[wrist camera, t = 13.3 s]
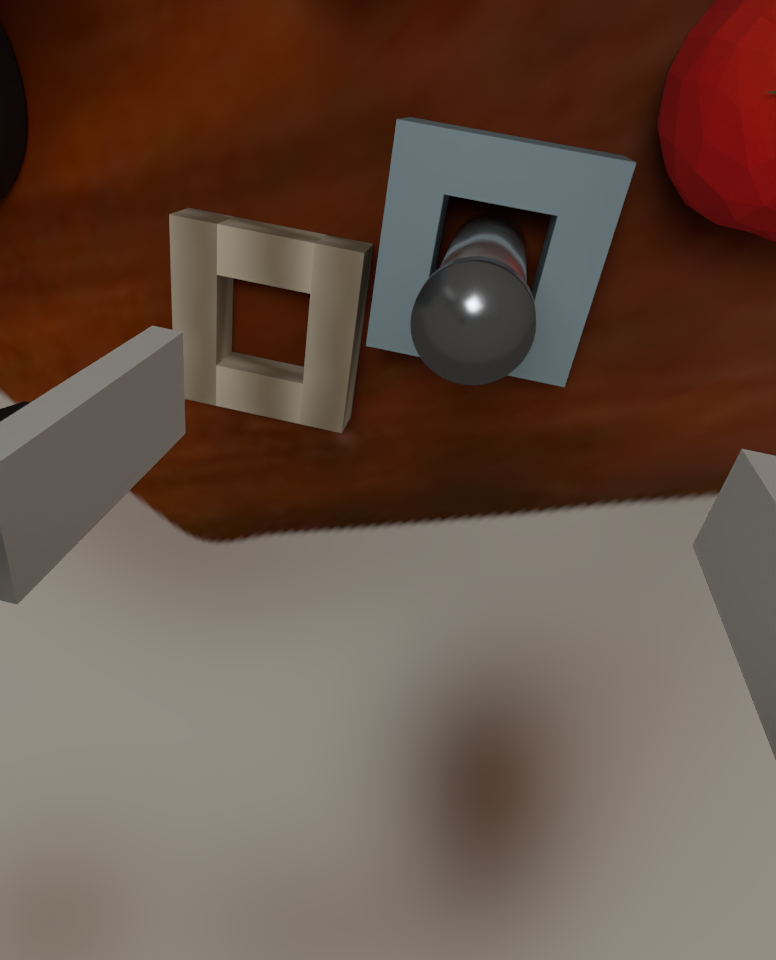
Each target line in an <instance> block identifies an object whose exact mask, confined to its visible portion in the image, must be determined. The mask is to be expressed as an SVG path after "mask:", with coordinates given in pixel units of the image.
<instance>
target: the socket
mask: <svg viewBox="0 0 776 960" xmlns="http://www.w3.org/2000/svg"><path fill="white" fill-rule="evenodd" d="M635 166H636V162H634V161H633V160H631V159H629V158H627V157H626V156H622V155H617V154H611V153H606V152H600V151H595V150H589V149H583V148H578V147H572V146H567V145H561V144H556V143H550V142H545V141H539V140H534V139H528V138H523V137H517V136H511V135H506V134H500V133H495V132H489V131H484V130H478V129H473V128H467V127H462V126H456V125H451V124H445V123H439V122H434V121H428V120H423V119H417V118H412V117H407V118H401V119H397V121H396V129H395V136H394V143H393V151H392V158H391V165H390V173H389V180H388V187H387V195H386V202H385V209H384V217H383V224H382V231H381V239H380V246H379V253H378V261H377V268H376V275H375V283H374V290H373V297H372V305H371V312H370V319H369V327H368V334H367V341H366V346H369V347H374V348H379V349H384V350H388V351H393V352H398V353H403V354H408V355H412V356H417V357H420V356H419V354H418V353H417V351H416V349H415V346H414V343H413V340H412V336H411V326H410V321H411V313H412V309H413V306H414V303H415V300H416V298H417V296H418V294H419V292H420V290H421V289H422V287H423V285H424V284H425V282H426V281H427V279H428V278H429V277H430V276H431V275H432V274H433V273H434V272H435V271H436V267H437V261H438V256H439V250H440V245H441V240H442V234H443V229H444V223H445V218H446V212H447V207H448V202H449V196H455V197H460V198H465V199H471V200H476V201H481V202H487V203H492V204H497V205H503V206H508V207H513V208H518V209H524V210H529V211H534V212H540V213H545V214H550V215H551V218H550V222H549V226H548V229H547V233H546V237H545V241H544V244H543V248H542V252H541V256H540V259H539V263H538V267H537V271H536V274H535V278H534V282H533V285H532V289H531V293H532V296H533V299H534V304H535V312H536V332H535V337H534V341H533V344H532V346H531V349H530V351H529V352H528V354H527V356H526V357H525V359H524V360H523V361H522V363H521V364H520V365H519V366H518V367H517V368H516V369H515V370H513V371H512V372H511V373H510V374H508V376H513V377H518V378H523V379H527V380H532V381H537V382H542V383H547V384H551V385H556V386H561V387H565V384H566V381H567V378H568V375H569V372H570V369H571V366H572V362H573V359H574V356H575V353H576V350H577V347H578V344H579V341H580V337H581V334H582V331H583V328H584V325H585V322H586V319H587V316H588V312H589V309H590V306H591V303H592V300H593V297H594V294H595V291H596V287H597V284H598V281H599V278H600V275H601V272H602V269H603V266H604V262H605V259H606V256H607V253H608V250H609V247H610V244H611V241H612V237H613V234H614V231H615V228H616V225H617V222H618V219H619V216H620V213H621V209H622V206H623V203H624V200H625V197H626V194H627V191H628V188H629V184H630V181H631V178H632V175H633V172H634V169H635Z"/></svg>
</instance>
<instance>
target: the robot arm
mask: <svg viewBox="0 0 776 960" xmlns="http://www.w3.org/2000/svg"><path fill="white" fill-rule="evenodd" d="M25 140H26V108H25V99H24V93H23V87H22V82H21V78H20V74H19V70H18V67H17V63H16V60H15V57H14V54H13V51H12V49H11V46H10V44H9V41H8V39H7V36H6V34H5V32H4V30H3V27H2V25H1V23H0V199H1V198H2V197H3V196H4V195H5V194H6V193H7V191H8V190H9V188H10V187H11V185H12V183H13V182H14V180H15V178H16V175H17V173H18V171H19V168H20V165H21V162H22V158H23V154H24V148H25ZM184 434H185V401H184V359H183V332H180V331H175V330H170V329H165V328H161V327H156V326H151V327H150V328H148V329H146V330H145V331H143V332H142V333H140V334H138V335H137V336H135V337H134V338H132V339H131V340H129V341H127V342H126V343H124V344H123V345H121V346H119V347H118V348H116V349H115V350H113V351H112V352H110V353H108V354H107V355H105V356H104V357H102V358H100V359H99V360H97V361H96V362H94V363H93V364H91V365H89V366H88V367H86V368H85V369H83V370H81V371H80V372H78V373H77V374H75V375H74V376H72V377H70V378H69V379H67V380H66V381H64V382H62V383H61V384H59V385H58V386H56V387H55V388H53V389H51V390H50V391H48V392H47V393H45V394H43V395H42V396H40V397H39V398H37V399H36V400H34V401H32V402H31V403H29V402H25V401H24V402H21V403H18V404H15V405H12V406H9V407H6V408H2V409H0V600H2V601H6V602H10V603H14V604H18V603H19V602H20V601H21V600H22V599H23V598H24V597H25V596H26V595H27V594H28V593H29V592H30V591H31V590H32V589H33V588H34V587H35V586H36V585H37V584H38V583H39V582H40V581H41V580H42V579H43V578H44V577H45V576H46V575H47V574H48V573H49V572H50V571H51V570H52V569H53V568H54V566H55V565H57V564H58V563H59V561H60V560H61V559H62V558H63V557H64V556H65V555H66V554H67V553H68V552H69V551H70V550H71V549H72V548H73V547H74V546H75V545H76V544H77V543H78V542H79V541H80V540H81V539H82V538H83V537H84V536H85V535H86V534H87V533H88V532H89V531H90V530H91V529H92V528H93V527H94V526H95V525H96V524H97V523H98V522H99V521H100V520H101V519H102V518H103V517H104V516H105V514H107V512H108V511H110V510H111V508H113V506H114V505H115V504H116V503H117V502H118V501H119V500H120V499H121V498H122V497H123V496H124V495H125V494H126V493H127V492H128V491H129V490H130V489H131V488H132V487H133V486H134V485H135V484H136V483H137V482H138V481H139V480H140V479H141V478H142V477H143V476H144V475H145V474H146V473H147V472H148V471H149V470H150V469H151V468H152V467H153V466H154V465H155V464H156V463H157V462H158V461H159V460H160V459H161V458H162V457H163V456H164V455H165V454H166V453H167V452H168V451H169V450H170V449H171V447H172V446H173V445H174V444H175V443H176V442H177V441H178V440H179V439H180V438H181V437H182V436H183V435H184ZM693 547H694V550H695V552H696V555H697V558H698V560H699V563H700V565H701V568H702V570H703V573H704V576H705V578H706V581H707V583H708V586H709V588H710V591H711V594H712V596H713V599H714V601H715V604H716V607H717V609H718V612H719V614H720V617H721V619H722V622H723V624H724V627H725V630H726V632H727V635H728V638H729V640H730V643H731V645H732V648H733V650H734V653H735V656H736V658H737V661H738V663H739V666H740V668H741V671H742V673H743V676H744V679H745V681H746V684H747V687H748V689H749V692H750V694H751V697H752V700H753V702H754V705H755V707H756V710H757V713H758V715H759V718H760V720H761V723H762V725H763V728H764V730H765V733H766V736H767V738H768V741H769V744H770V746H771V749H772V751H773V754H774V756H775V759H776V456H773V455H769V454H764V453H759V452H754V451H749V450H745V449H741V451H740V453H739V455H738V457H737V459H736V461H735V463H734V465H733V467H732V469H731V471H730V473H729V475H728V477H727V479H726V481H725V483H724V485H723V487H722V489H721V491H720V493H719V495H718V497H717V499H716V500H715V503H714V504H713V507H712V508H711V510H710V512H709V514H708V516H707V518H706V520H705V522H704V524H703V526H702V528H701V530H700V532H699V534H698V536H697V538H696V540H695V542H694V544H693Z"/></svg>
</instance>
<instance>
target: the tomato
mask: <svg viewBox="0 0 776 960" xmlns="http://www.w3.org/2000/svg"><path fill="white" fill-rule="evenodd" d="M657 127H658V132H659V138H660V144H661V149H662V155H663V160H664V163H665V167H666V171H667V174H668V176H669V177H670V179H671V181H672V182H673V184H674V186H675V187H676V189H677V191H678V193H679V194H680V196H681V198H682V199H683V201H684V203H685V204H686V205H688V206H689V207H691V208H692V209H694V210H695V211H696V212H698V213H699V214H701V215H702V216H704V217H705V218H706V219H708V220H710V221H712V222H714V223H716V224H717V225H721V226H725V227H729V228H734V229H738V230H742V231H746V232H750V233H753V234H755V235H758V236H760V237H763V238H766V239H768V240H771V241H773V242H776V0H715V1H714V3H713V4H712V5H711V6H710V7H709V9H708V10H707V11H706V12H705V14H704V15H703V16H702V17H701V18H700V20H699V21H698V22H697V23H696V25H695V26H694V27H693V28H692V30H691V31H690V32H689V33H688V34H687V36H686V37H685V39H684V41H683V43H682V45H681V47H680V49H679V51H678V53H677V55H676V57H675V59H674V61H673V63H672V65H671V67H670V69H669V71H668V73H667V76H666V81H665V85H664V90H663V95H662V100H661V104H660V109H659V114H658V118H657Z"/></svg>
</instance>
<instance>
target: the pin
mask: <svg viewBox="0 0 776 960" xmlns="http://www.w3.org/2000/svg"><path fill="white" fill-rule="evenodd" d="M410 326H411V336H412V340H413V343H414V346H415V349H416V351H417V353H418V354H419V356H420V358H421V359H422V361H423V362H424V363H425V364H426V365H427V366H428V367H429V368H430V369H431V370H432V371H433V372H434V373H436V374H437V375H439V376H440V377H442V378H444V379H446V380H449V381H451V382H454V383H458V384H464V385H482V384H487V383H491V382H494V381H497V380H499V379H501V378H503V377H505V376H507V375H508V374H510V373H511V372H512V371H513V370H515V369H516V368H517V367H518V366H519V365H520V364H521V363H522V361H523V360H524V359H525V357H526V356H527V354H528V352H529V351H530V349H531V346H532V344H533V341H534V337H535V332H536V312H535V304H534V299H533V296H532V293H531V291H530V289H529V287H528V285H527V280H526V246H525V238H524V234H523V232H522V230H521V228H520V226H519V225H518V223H517V222H516V221H515V220H514V219H513V218H512V217H510V216H509V215H507V214H505V213H503V212H499V211H493V210H487V211H482V212H478V213H476V214H474V215H472V216H470V217H469V218H468V219H466V220H465V221H464V222H463V223H462V224H461V226H460V227H459V228H458V230H457V232H456V234H455V236H454V238H453V241H452V243H451V245H450V247H449V249H448V251H447V253H446V255H445V258H444V260H443V262H442V264H441V266H440V268H439V269H438V270H436V271H435V272H434V273H433V274H432V275H431V276H430V277H429V278H428V279H427V281H426V282H425V284H424V285H423V287H422V289H421V290H420V292H419V294H418V296H417V298H416V300H415V303H414V306H413V309H412V313H411V321H410Z"/></svg>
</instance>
